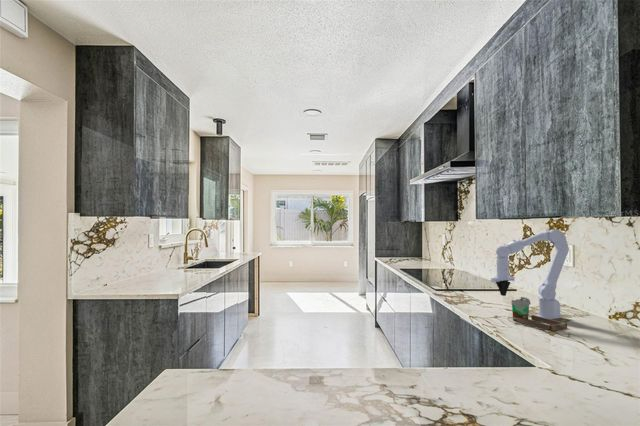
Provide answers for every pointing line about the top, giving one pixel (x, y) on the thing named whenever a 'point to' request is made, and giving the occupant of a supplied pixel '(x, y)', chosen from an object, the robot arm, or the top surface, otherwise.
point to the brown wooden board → (554, 326)
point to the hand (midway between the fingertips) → (503, 295)
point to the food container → (520, 308)
